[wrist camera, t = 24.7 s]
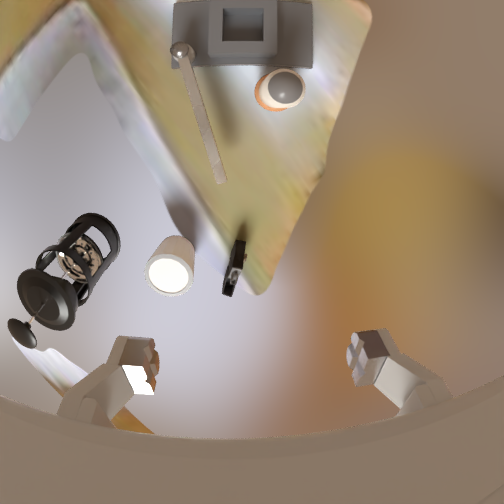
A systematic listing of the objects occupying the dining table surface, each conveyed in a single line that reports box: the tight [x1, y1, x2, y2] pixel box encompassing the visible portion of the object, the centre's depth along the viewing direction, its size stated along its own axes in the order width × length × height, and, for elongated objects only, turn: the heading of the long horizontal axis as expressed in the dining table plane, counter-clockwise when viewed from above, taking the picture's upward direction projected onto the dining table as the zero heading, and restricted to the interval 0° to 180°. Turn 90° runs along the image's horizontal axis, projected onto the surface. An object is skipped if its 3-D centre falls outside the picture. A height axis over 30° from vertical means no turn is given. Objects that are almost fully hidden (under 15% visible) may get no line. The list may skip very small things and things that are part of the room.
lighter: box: [222, 240, 247, 297], centre depth 43 cm, size 9×2×6 cm
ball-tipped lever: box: [170, 41, 227, 184], centre depth 30 cm, size 18×2×2 cm, turn 15°
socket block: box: [172, 0, 313, 69], centre depth 27 cm, size 18×10×4 cm, turn 89°
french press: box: [8, 213, 120, 349], centre depth 32 cm, size 12×9×23 cm
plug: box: [255, 69, 305, 111], centre depth 28 cm, size 5×5×12 cm
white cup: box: [144, 236, 195, 297], centre depth 41 cm, size 7×7×7 cm
